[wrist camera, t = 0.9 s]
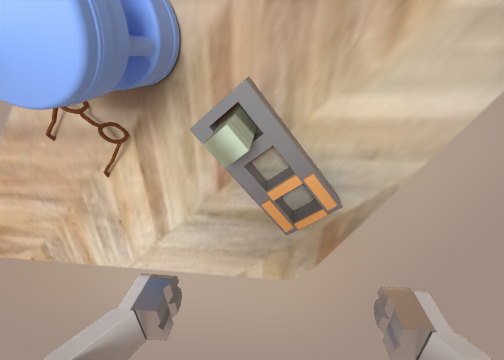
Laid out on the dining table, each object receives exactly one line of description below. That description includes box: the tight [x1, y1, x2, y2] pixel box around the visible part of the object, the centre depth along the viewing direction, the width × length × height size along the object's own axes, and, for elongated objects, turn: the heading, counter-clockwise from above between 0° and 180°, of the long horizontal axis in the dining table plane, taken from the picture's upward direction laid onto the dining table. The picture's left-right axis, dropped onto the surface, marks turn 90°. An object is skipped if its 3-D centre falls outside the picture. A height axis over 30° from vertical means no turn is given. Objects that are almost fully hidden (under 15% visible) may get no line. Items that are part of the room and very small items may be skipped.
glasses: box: [46, 101, 128, 177], centre depth 46 cm, size 13×13×5 cm
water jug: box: [0, 0, 180, 110], centre depth 25 cm, size 16×16×28 cm
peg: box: [203, 106, 257, 168], centre depth 37 cm, size 4×4×12 cm
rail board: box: [190, 77, 342, 235], centre depth 43 cm, size 12×28×4 cm, turn 39°
